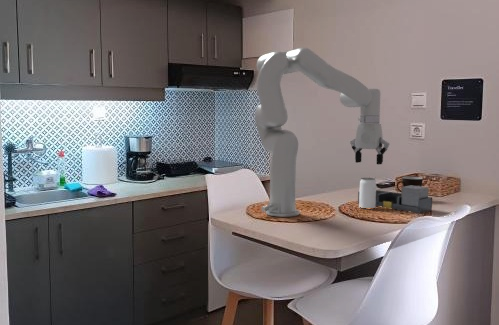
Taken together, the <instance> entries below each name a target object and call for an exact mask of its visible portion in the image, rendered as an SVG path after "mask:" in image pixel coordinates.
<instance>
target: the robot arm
mask: <svg viewBox="0 0 499 325" xmlns="http://www.w3.org/2000/svg"><path fill="white" fill-rule="evenodd" d="M256 70H257V72H258V76H257V79H256V80H257V81H256V90H257V96H258V100H259V104H258V106H257V107H256V109H255V111H254V120H255V125H256V129H257V132H258V136H259V138H260V142H261V144H262V147H263V148H264V150H265V151H267V152H268V153H270V154H271V160H270V165H269V166H270V170H269V171H270V172H269V174H270V176H269V180H270V182H269V184H270V185H269V202H267V205H263V206H261V208H260V209H261V212H265V214H266V215H268V216H272V217H276V218H277V217H278V218H279V217H280V218H288V217H290V218H291V217H296V216H298V215H300V210H299V209H296V192H297V191H296V188H297V187H296V180H297V178H296V176H297V156H298V151H299V139H298V137H297V135H296V134H295V133H294V132H293V131H291V130H287V129H283V128H282V126H284V125H285V124H286V123H287V121H288V115H289V114H288V111H287V107H286V103H285V101H284V96H283V92H282V88H281V81H282V77H283V75H287V74H292V73H297V72H301V73H302V74H303V75H305V76H306V77H307V78H309V79H310V80H311V81H312V82H314V83H315V84H317V85H318V86H319V87H320V88H321V87H322V88H325V89H326V90H331V91H335V92H338V93H340V95H339V101H340V103H341V105H343V106H344V107H347V108H360V109H359V110H360V111H359V112H360V114H359V117H358V118H357V121H359V123H358V124H357V126H356V132H355V138H354V139H352V140H350V141H349V142H350V143H349V144H350V145H351V148H352V150H353V153H355V154H354V155H355V158H354V160H355V164H356V163H361V162H362V155H363V154H362V152H361V151H362V150H375V152H377V154H376V165H383V161H384V154H385V153H386V152H387V150H388V148H389V146H390V142H388V141H387V140H385V139H383V137H384V136H383V129H382V128H383V127H382V124H381V123H380V122H381V120H380V119H381V116H380V115H381V113H380V112H381V90H380V89H378V88H369V87H367V86H366V85H365V84H364V83H362V82H361V81H360V80H359V79H357V78H355V77H353V76H352V75H350V74H347V73H346V72H344V71H341V70H339V69H337V68H335V67H333V66H332V65H331V64H329V63H328V62H327V61H326V60H324V59H323V58H322V57H321V56H320V55H318V54H316V52H314V51H313V50H312V49H310V48H308V47H303V46H302V47H298V48H295V49H292V50H286V51H281V50H277V51H272V52H268V53H265V54H263V55H261V56H260V57H259V58H258V59H257V62H256Z"/></svg>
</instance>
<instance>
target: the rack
mask: <svg viewBox="0 0 499 325" xmlns="http://www.w3.org/2000/svg"><path fill="white" fill-rule="evenodd" d="M401 191H402V193H401V192H400V193H399V192H394V191H393V192H392V191H386V190H378V189H376V206H382V207H386V208H392V209H391V210H393V209H397V210H396V211H399V210H404V211H403V212H406V211H411V212H410V213H412V212H416V213H415V214H418V213H421V214H423V213H422V212H425V213H428V212H432V210H433V197H432V196H429V187H427V186H422V187H421V186H413V185H410V186H405V187H403V186H401ZM357 193H358V194H357V204H358V203H359V191H358V192H357ZM386 208H385V209H386ZM427 211H428V212H427Z"/></svg>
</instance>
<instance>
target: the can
mask: <svg viewBox="0 0 499 325" xmlns="http://www.w3.org/2000/svg"><path fill="white" fill-rule="evenodd" d="M376 190H377V182H376V178H374V177H361V178H360V180H359V191H358V192H359V204H358V207H359V208H360V207H361V208H375V209H376V208H377V207H376ZM361 208H360V209H361Z"/></svg>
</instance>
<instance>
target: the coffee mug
mask: <svg viewBox="0 0 499 325" xmlns="http://www.w3.org/2000/svg"><path fill="white" fill-rule="evenodd" d="M423 179H424V178H423V177H419V176H403V177H401V181H398V182H397V183H396V188H397V190H398V191H399V192H400V193H402V189H401V190H400V187H399V184H400V183H401V184H402V187H405V186H410V185H413V186H421V187H423V186H422V185H423V181H424V180H423Z"/></svg>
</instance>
